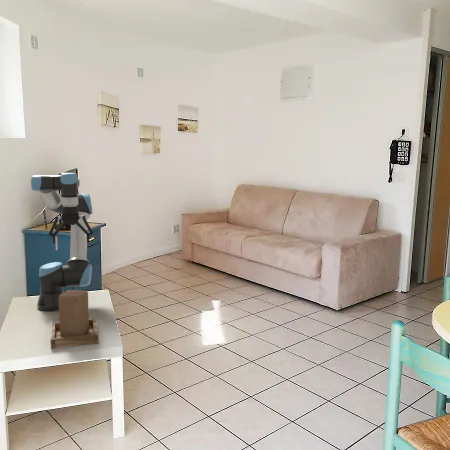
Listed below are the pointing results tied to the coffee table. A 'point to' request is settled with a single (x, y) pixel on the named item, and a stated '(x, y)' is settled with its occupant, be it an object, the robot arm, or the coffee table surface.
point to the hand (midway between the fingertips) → (71, 249)
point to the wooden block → (73, 313)
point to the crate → (85, 339)
